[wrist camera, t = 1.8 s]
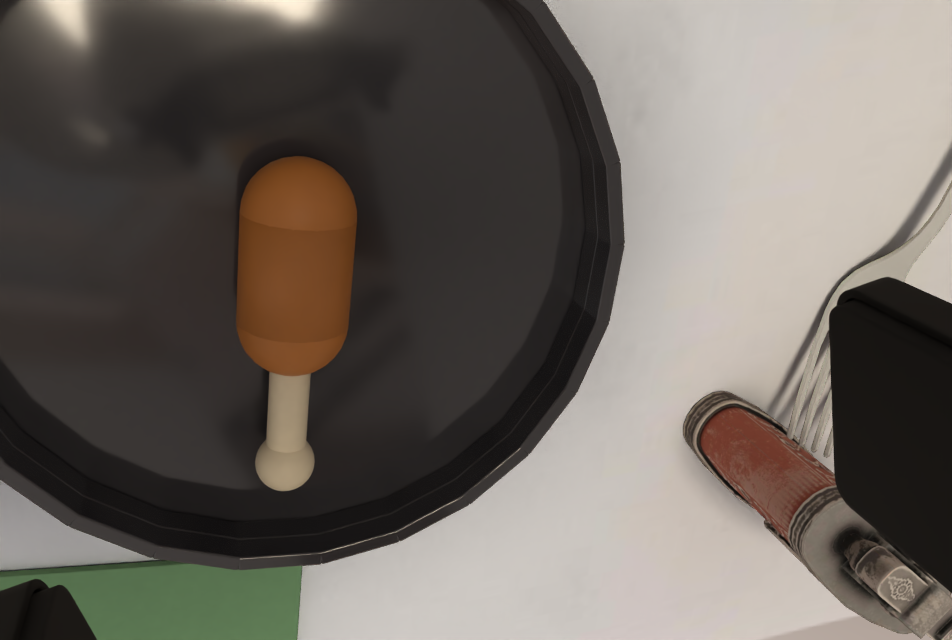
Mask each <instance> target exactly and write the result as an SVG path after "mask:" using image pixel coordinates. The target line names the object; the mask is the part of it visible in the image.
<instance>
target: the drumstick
mask: <svg viewBox="0 0 952 640" xmlns="http://www.w3.org/2000/svg"><path fill="white" fill-rule="evenodd" d="M356 227H357V208H356V204H355V199H354V196H353V193H352V191H351V189H350V187H349V185H348V184H347V182H346V181H345V180H344V178H343V177H342V176H341V175H340V174H339V173H338V172H337V171H336V170H335V169H334V168H332V167H330V166H329V165H327V164H325V163H324V162H322V161H319V160H316V159H313V158H310V157H304V156H292V157H285V158H281V159H278V160H275V161H273V162H270V163H269V164H267V165H266V166H264V167H263V168H261V169H260V170H259V171H258V172H257V173H256V174H255V175H254V176H253V177H252V178H251V179H250V181H249V183H248V184H247V186H246V188H245V190H244V193H243V196H242V199H241V205H240V213H239V245H238V276H237V308H236V326H237V333H238V336H239V339H240V342H241V345H242V346H243V348H244V350H245V352H246V353H247V354H248V355H249V357H250V358H251V359H252V360H253V361H254V362H255V363H256V364H258V365H259V366H261V367H262V368H264V369H265V370H267V371H269V372H270V373H269V394H268V415H267V436H266V440H265V441H264V442H263V443H262V445H261V446H260V448H259V449H258V452H257V455H256V459H255V467H256V471H257V474H258V476H259V478H260V479H261V481H262V482H263V483H264V484H265V485H267V486H268V487H270V488H272V489H274V490H278V491H290V490H293V489H296V488H298V487H300V486H301V485H303V484H304V483H305V482H306V481H307V480H308V479H309V477H310V476H311V474H312V471H313V468H314V463H315V461H314V453H313V450H312V448H311V446H310V445H309V443H308V442H307V441H306V436H307V421H308V406H309V391H310V376H311V373H313V372H315V371H317V370H319V369H321V368H323V367H324V366H326V365H327V364H328V363H329V362H330V361H331V360H333V359H334V358H335V357H336V355H337V354H338V352H339V351H340V350H341V348H342V346H343V343H344V341H345V338H346V336H347V331H348V325H349V312H350V300H351V288H352V276H353V264H354V251H355V239H356Z"/></svg>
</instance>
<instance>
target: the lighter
mask: <svg viewBox="0 0 952 640" xmlns="http://www.w3.org/2000/svg"><path fill="white" fill-rule="evenodd" d="M787 432H788V430H787V429H786V428H785V427H784V426H782V425H781V424H780V423H778V422H777V421H776V420H774V419H773V418H772V417H770V416H769V415H768V414H766V413H765V412H764V411H762V410H761V409H760V408H758V407H757V406H755V405H753V404H751V403H749V402H747V401H745V400H743V399H742V398H740V397H738V396H736V395H734V394H732V393H729V392H725V391H721V392H715V393H712V394H710V395H708V396H706V397H704V398H703V399H702V400H700V401H699V402H698V403H697V404H696V405H695V406H694V407H693V408H692V410H691V411H690V413H689V414H688V416H687V418H686V421H685V423H684V431H683V435H684V437H685V440H686V442H687V443H688V445H689V446H690V447H691V449H692V450H693V451H694V453H695V454H696V455H697V457H698V458H699V459H700V461H701V462H702V464H703V465H704V466H705V467H706V468H707V469H708V470H709V471H710V472H711V473H712V474H713V475H714V476H715V477H716V478H717V479H718V480H719V481H720V482H721V483H722V484H723V485H724V486H725V487H726V488H727V489H728V490H730V491H731V492H732V493H733V494H734V495H735V496H736V497H737V498H739V499H740V500H742V501H743V502H745V503H746V504H748V505H749V506H751V507H752V508H754V509H756V510H757V511H758V512H759V513H760V514H761V515H762V516H763V517H764V518H765V519H766V520H765V521H764V525H765V527H766V528H767V529H768V530H769V531H770V532H771V533H772V534H773V535H774V536H775V537H776V538H777V539H778V540H779V541H780V542H781V543H782V544H783V545H784V546H785V547H786V548H787V549H788V550H789V551H790V552H791V553H792V554H793V555H794V556H795V557H796V558H797V559H798V560H800V561H801V562H802V563H803V564H804V565H805V566H806V567H807V569H808V570H809V571H810V572H811V573H812V574H813V575H814V576H815V577H816V578H817V579H818V580H819V581H820V582H821V583H822V584H823V585H824V586H825V587H826V588H827V589H828V590H829V591H830V592H831V593H832V594H833V595H834V596H835V597H836V598H837V599H838V600H839V601H840V602H841V603H842V604H843V605H844V606H845V607H847V608H849V609H850V610H852V611H853V612H855V613H857V614H858V615H860V616H861V617H863V618H865V619H866V620H868V621H870V622H871V623H874V624H876V625H879V626H881V627H884V628H886V629H889V630H891V631H894V632H896V633H901V634H908V633H912V632H913V633H914V634H916V635H917V636H918V637H919V638H922V637H923V636H924V635H925V634H926V635H928V636H929V637H930V638H931V639H933V640H952V597H951V592H950V591H949V590H947V589H946V588H945V587H944V586H943V585H941V584H940V583H939V582H938V581H937V580H936V579H934V578H933V577H932V576H931V575H930V574H928V573H927V572H926V571H925V570H924V569H922V568H921V567H920V566H919V565H918V564H916V563H915V562H914V561H913V560H912V559H911V558H909V557H908V556H907V555H906V554H905V553H903V552H902V551H901V550H900V549H899V548H897V547H896V546H895V545H894V544H893V543H891V542H890V541H889V540H888V539H887V538H885V537H884V536H883V535H882V534H881V533H880V532H878V531H877V530H876V529H875V528H874V527H872V526H871V525H870V524H869V523H868V522H866V521H865V520H864V519H863V518H862V517H860V516H859V515H858V514H857V513H856V512H855V511H853V510H852V509H851V508H850V507H849V506H848V505H847V504H846V503H845V501H844V500H843V499H842V497H841V495H840V493H839V491H838V489H837V486H836V482H835V474H834V473H833V472H831V471H830V470H829V469H828V468H827V467H825V466H824V465H823V464H822V463H820V462H819V461H818V460H817V459H815V458H814V457H813V455H812V454H811V453H810V452H809V451H808V450H807V449H806V448H805V446H802V447H801V446H799V440H798V439H797V438H796V436H795V435H794V436H793V439H792V440H791V439H789V438H788V437H787Z"/></svg>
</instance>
